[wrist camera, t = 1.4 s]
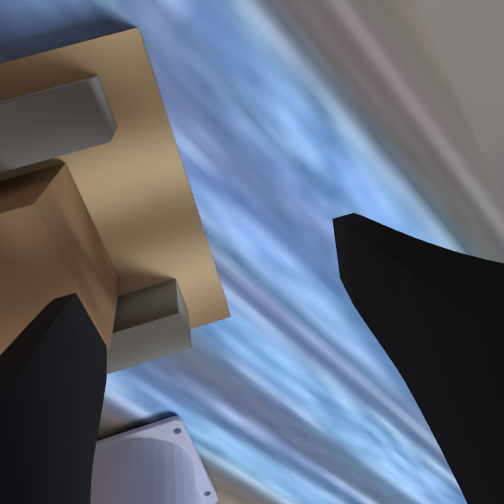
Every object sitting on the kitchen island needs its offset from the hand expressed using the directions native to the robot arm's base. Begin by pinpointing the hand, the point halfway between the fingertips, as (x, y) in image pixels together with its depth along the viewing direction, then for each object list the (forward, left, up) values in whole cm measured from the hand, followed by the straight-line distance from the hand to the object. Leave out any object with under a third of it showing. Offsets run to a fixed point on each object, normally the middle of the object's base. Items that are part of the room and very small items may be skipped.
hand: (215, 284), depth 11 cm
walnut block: (0, +7, -8) cm, 11 cm away
